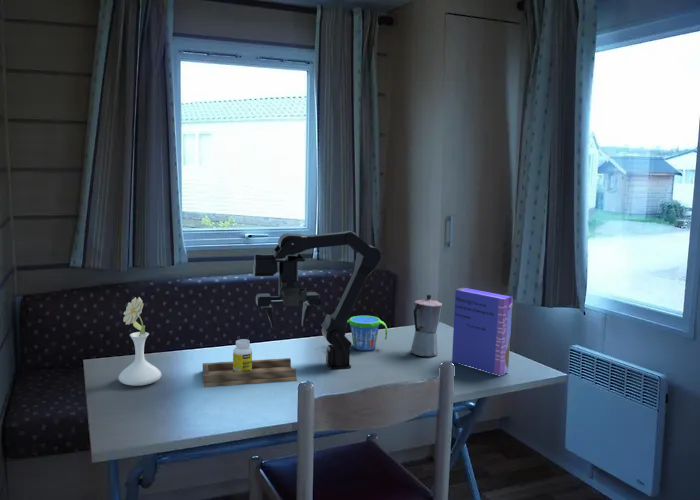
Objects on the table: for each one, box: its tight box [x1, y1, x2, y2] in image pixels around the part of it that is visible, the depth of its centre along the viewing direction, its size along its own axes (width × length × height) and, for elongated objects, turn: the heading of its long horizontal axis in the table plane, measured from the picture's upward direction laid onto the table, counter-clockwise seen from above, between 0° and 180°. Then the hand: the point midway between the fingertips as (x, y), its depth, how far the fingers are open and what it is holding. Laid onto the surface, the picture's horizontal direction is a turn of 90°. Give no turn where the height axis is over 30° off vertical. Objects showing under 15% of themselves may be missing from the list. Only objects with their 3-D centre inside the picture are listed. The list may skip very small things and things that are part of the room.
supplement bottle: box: [232, 338, 253, 372], centre depth 174 cm, size 5×5×10 cm
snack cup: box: [347, 315, 389, 351], centre depth 205 cm, size 16×10×10 cm
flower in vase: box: [118, 296, 162, 387], centre depth 166 cm, size 13×11×25 cm
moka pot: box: [410, 294, 443, 357], centre depth 199 cm, size 10×15×20 cm, turn 148°
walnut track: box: [202, 357, 298, 388], centre depth 175 cm, size 26×13×3 cm, turn 105°
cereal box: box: [451, 287, 513, 376], centre depth 187 cm, size 17×5×24 cm, turn 45°
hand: (287, 327), depth 181 cm, fingers open, 9 cm apart
